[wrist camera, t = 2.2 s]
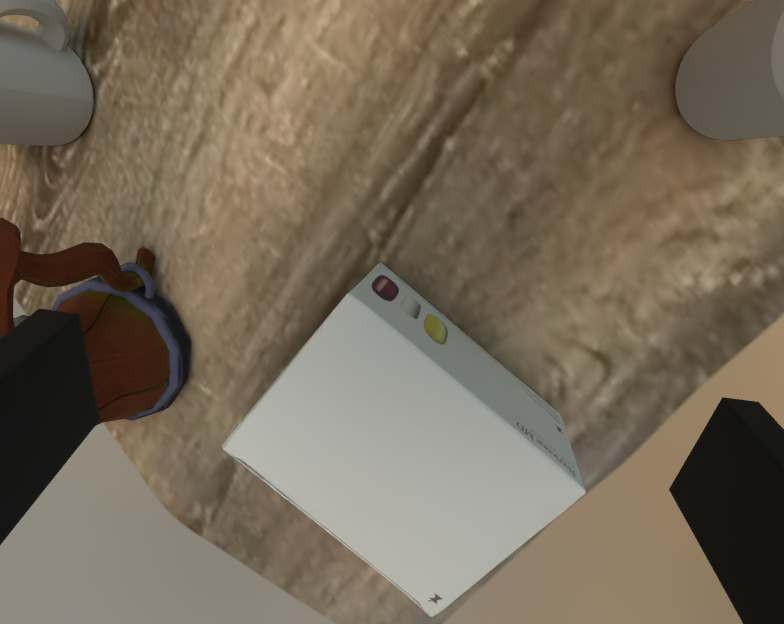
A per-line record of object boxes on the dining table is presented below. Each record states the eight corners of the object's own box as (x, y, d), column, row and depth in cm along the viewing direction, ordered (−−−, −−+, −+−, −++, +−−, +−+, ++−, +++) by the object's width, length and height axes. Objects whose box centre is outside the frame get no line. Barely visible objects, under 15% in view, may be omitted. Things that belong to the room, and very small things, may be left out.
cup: (-12, 97, 36) (-162, 78, 28) (50, -28, 33) (-98, -94, 24) (67, 168, 37) (-57, 169, 28) (136, 51, 33) (19, 13, 25)
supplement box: (565, 411, 36) (593, 494, 27) (443, 520, 40) (432, 623, 31) (380, 256, 35) (346, 289, 26) (275, 385, 39) (215, 451, 30)
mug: (96, 167, 36) (-152, 171, 22) (240, 236, 36) (82, 284, 22) (51, 373, 42) (-167, 481, 28) (175, 433, 42) (17, 574, 28)
